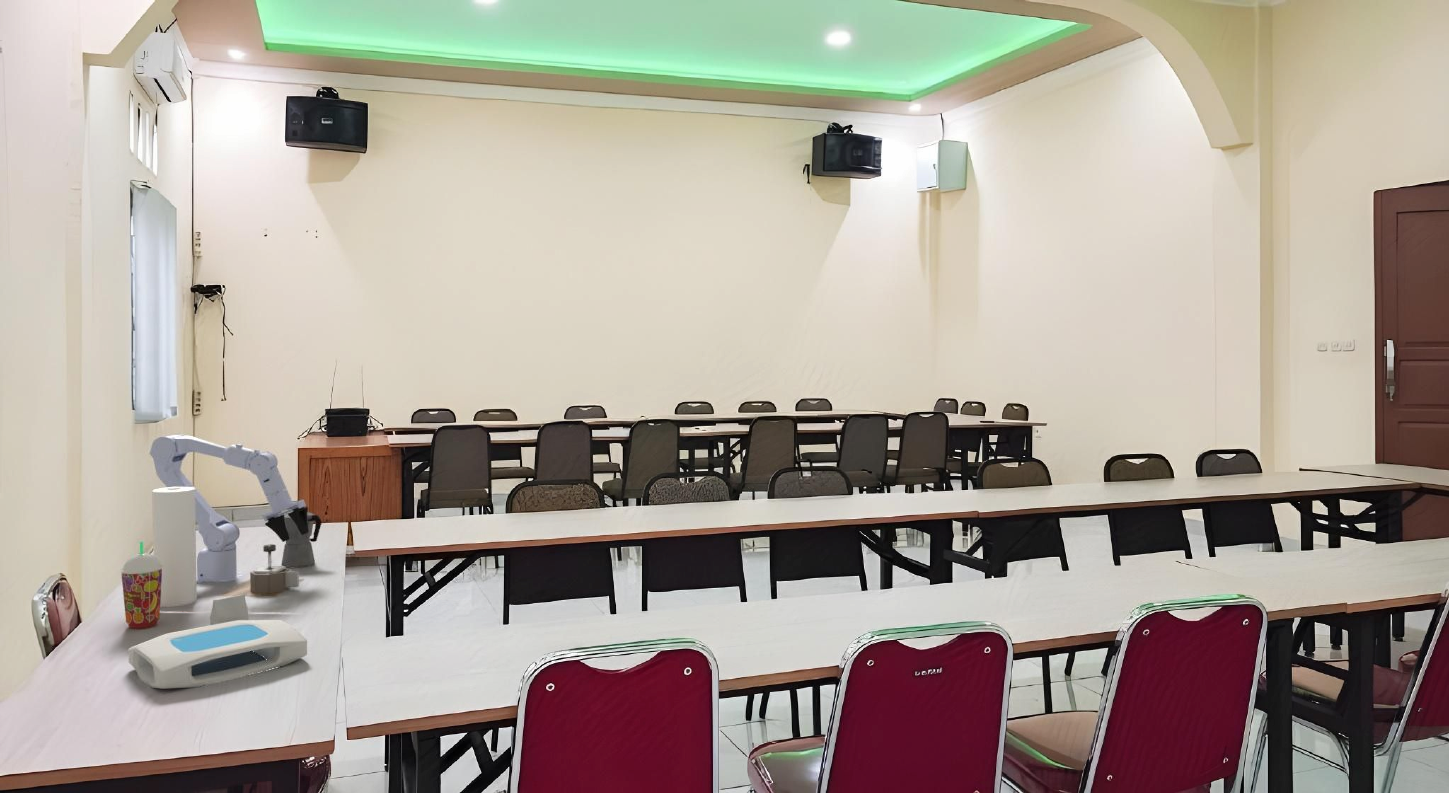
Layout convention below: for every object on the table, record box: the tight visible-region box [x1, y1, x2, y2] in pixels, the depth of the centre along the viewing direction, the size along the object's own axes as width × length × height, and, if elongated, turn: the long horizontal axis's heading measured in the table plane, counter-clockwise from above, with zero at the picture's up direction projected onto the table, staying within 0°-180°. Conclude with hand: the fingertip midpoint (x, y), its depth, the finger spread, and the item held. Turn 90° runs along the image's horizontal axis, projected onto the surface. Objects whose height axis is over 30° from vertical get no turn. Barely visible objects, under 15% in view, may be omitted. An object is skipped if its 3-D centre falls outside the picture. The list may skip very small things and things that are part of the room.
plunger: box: [256, 543, 283, 574], centre depth 257 cm, size 7×7×8 cm
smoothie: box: [120, 541, 163, 630], centre depth 225 cm, size 8×8×20 cm
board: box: [217, 578, 305, 597], centre depth 259 cm, size 15×18×1 cm
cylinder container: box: [151, 487, 198, 608], centre depth 243 cm, size 9×9×30 cm
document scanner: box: [128, 619, 308, 690], centre depth 198 cm, size 21×28×6 cm
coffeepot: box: [280, 512, 323, 568], centre depth 288 cm, size 15×9×18 cm, turn 70°
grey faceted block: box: [249, 565, 300, 594], centre depth 257 cm, size 12×9×6 cm
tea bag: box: [209, 594, 250, 625], centre depth 214 cm, size 4×7×10 cm, turn 143°
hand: (295, 537), depth 270 cm, fingers open, 7 cm apart
